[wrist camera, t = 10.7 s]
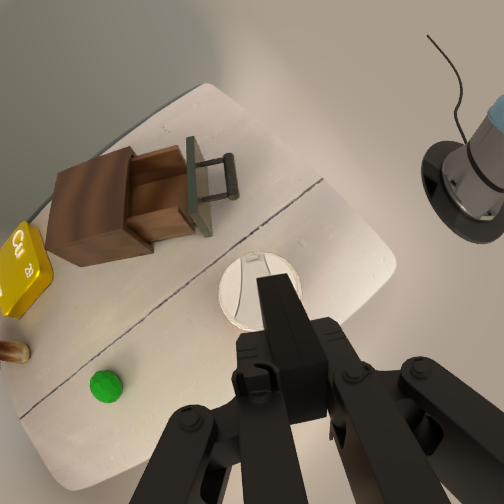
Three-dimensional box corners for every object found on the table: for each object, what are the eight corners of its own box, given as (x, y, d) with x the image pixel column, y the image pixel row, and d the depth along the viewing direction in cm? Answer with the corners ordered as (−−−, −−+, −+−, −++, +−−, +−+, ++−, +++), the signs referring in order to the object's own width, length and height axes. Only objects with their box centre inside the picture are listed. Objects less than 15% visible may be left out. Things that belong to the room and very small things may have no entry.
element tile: (2, 268, 47) (-12, 262, 42) (37, 224, 48) (23, 215, 44) (17, 323, 42) (1, 319, 38) (56, 278, 44) (39, 271, 39)
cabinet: (154, 178, 48) (130, 145, 38) (153, 253, 43) (122, 229, 34) (87, 198, 48) (57, 172, 39) (80, 267, 44) (44, 249, 35)
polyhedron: (132, 381, 37) (115, 384, 33) (121, 406, 36) (104, 411, 31) (108, 363, 38) (90, 364, 34) (97, 388, 37) (80, 391, 33)
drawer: (236, 159, 46) (228, 128, 38) (247, 229, 41) (238, 204, 34) (132, 184, 47) (111, 159, 39) (130, 251, 43) (103, 233, 35)
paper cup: (234, 286, 40) (210, 256, 27) (289, 275, 40) (291, 239, 26) (244, 342, 38) (222, 341, 24) (301, 331, 37) (310, 324, 24)
